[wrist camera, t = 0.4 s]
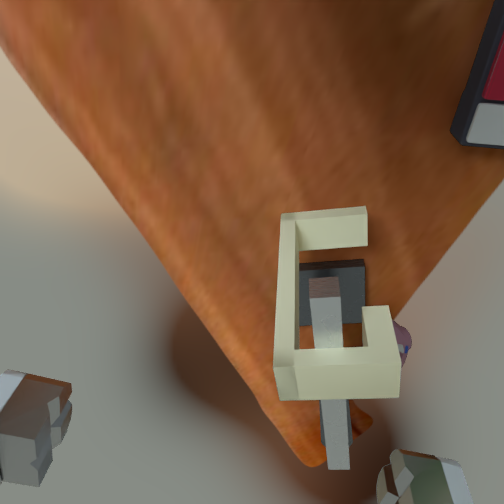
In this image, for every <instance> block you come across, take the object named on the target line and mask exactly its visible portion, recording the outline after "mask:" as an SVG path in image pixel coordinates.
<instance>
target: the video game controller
mask: <svg viewBox="0 0 504 504" xmlns="http://www.w3.org/2000/svg"><path fill="white" fill-rule="evenodd" d="M392 323H393V328H394V332H395V336H396V341H397V345H398V349H399V354H400V358H401V368H402V366H403V364H404V362H405V359H406V357H407V352H408V350H409V349H410V348H411V344H412V341H411V336H410V334H409V332H408V331H407V330H406V328H404V327H402V326H399V325H398V324H397V323H396V322H395V321H393V320H392Z"/></svg>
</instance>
